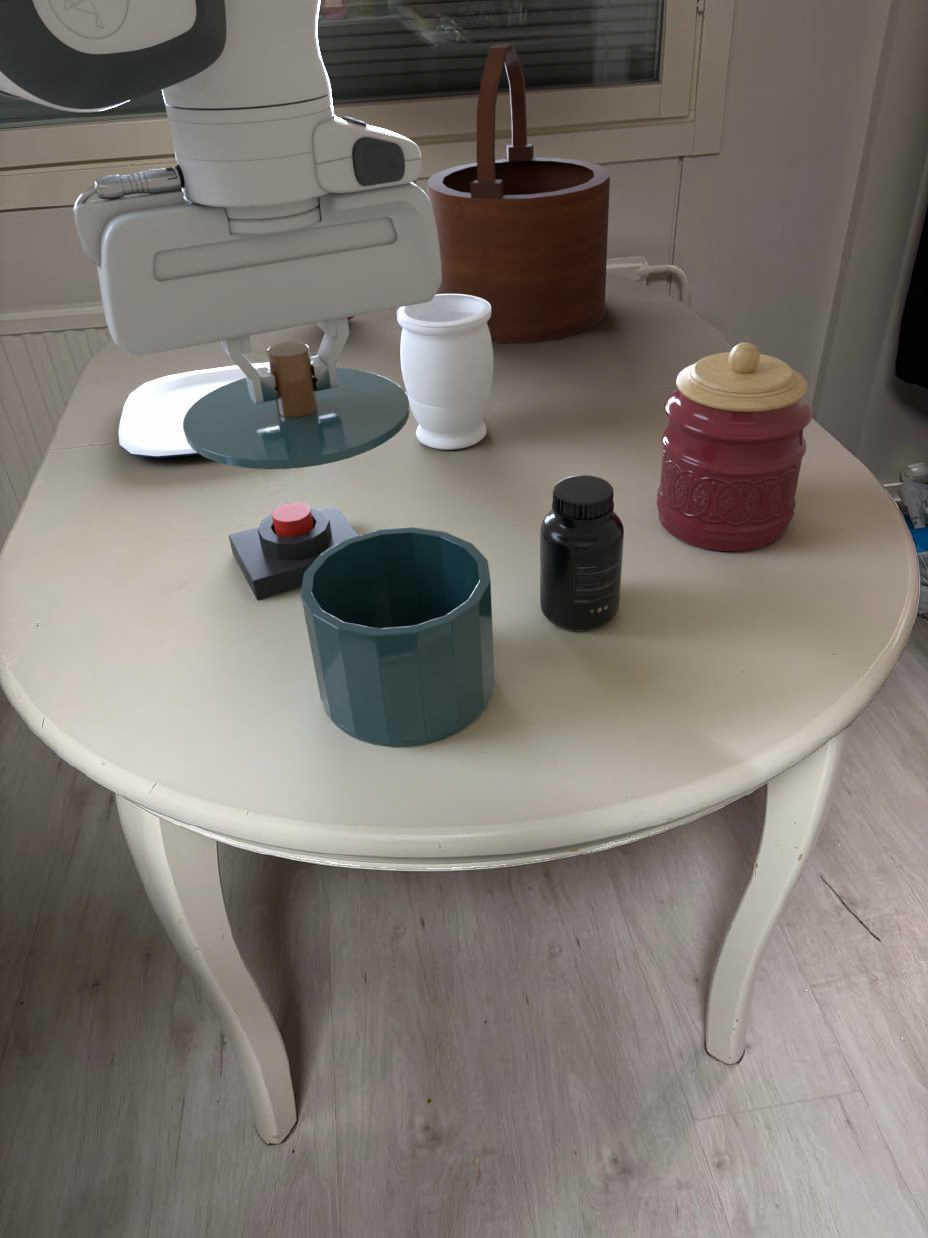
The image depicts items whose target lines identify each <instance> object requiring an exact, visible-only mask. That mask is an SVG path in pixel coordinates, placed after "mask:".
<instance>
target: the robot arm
mask: <svg viewBox="0 0 928 1238" xmlns="http://www.w3.org/2000/svg"><path fill="white" fill-rule="evenodd" d="M320 6H321V0H0V97H4V98H9V99H15V100H26V101H30V102H31V103H35V104H38V105H43V106H45V107H49V108H51V109H55V110H56V109H57V110H59V111H63V112H64V111H65V112H71V113H72V112H73V113H97V112H103V111H106V110H109V109H112V108H116V107H118V106H121V105H123V104H125V103H127V102H130V101H131V100H134V99H139V98H141V97H145V96H147V95H150V94H153V93H156V92H158V91H161V92H162V96H163V100H164V106H165V111H166V116H167V121H168V126H169V131H170V135H171V136H170V137H171V141H172V146H173V151H174V155H175V161H176V163H177V164H176V166H170V167H164V168H156V169H148V170H144V171H141V172H138V173H133V174H128V175H127V174H125V175H119V174H108V175H103V176H100V177H97V178H94V179H93V185H91V186H89V187H87V188H85V189H84V190H83V191H82V192H80V193H79V195H78V197H77V198H76V200H75V201H74V204H73V209H72V218H73V219H72V220H73V223H74V227H75V231H76V234H77V238H78V241H79V245H80V248H81V250H82V252H83V254H84V255H85V256H86V258H87V259H88V260H89V261H90V262H91V263H92V264H94V265H95V266H96V267H97V274H98V275H97V277H98V283H99V289H100V290H99V291H100V296H101V303H102V306H103V307H102V308H103V311H104V312H103V313H104V317H105V321H106V325H107V328H108V331H109V334H110V336H111V339H112V341H113V342H114V344H115V345H116V346H118V347H119V348H120V349H121V350H123V351H124V352H126V353H127V354H128V355H130V356H132V357H143V356H148V355H154V354H158V353H164V352H169V351H175V350H179V349H185V348H191V347H196V346H201V345H206V344H212V343H216V342H220V343H221V348H222V349H223V350H224V352H225V353H226V354H227V355H228V356H229V357H230V359H231V360H232V361H233V362H234V363H235V365H236V366H238V367H239V368H240V369H241V370H242V371H243V372H244V374H245V375H246V380H247V385H248V391H249V394H250V397H251V399H252V401H253V402H254V403H255V404H261V403H265V402H269V401H273V400H277V399H278V393H277V391H276V390H275V387H276V381H275V375H274V374H273V373H272V372H271V371H270V369H269V368H268V367H267V366H264V367H259V368H254V367H253V365H252V364H253V363H251V362H250V361H249V359H248V358H247V357H246V356H245V354H250V353H251V352H252V351H253V350H252V344H251V336H255V335H260V334H265V333H270V332H271V333H272V332H275V331H282V330H286V329H291V328H297V327H303V326H308V325H313V324H317V326H318V328H320V329H321V330H322V331H323V332H324V334H323V337H322V339H321V341H320V345H319V348H318V351H317V354H316V355H315V356H310V360H311V367H312V374H313V381H314V388H315V391H316V392H317V391H322V390H326V389H331V388H336V387H338V380H337V372H336V368H337V364H336V363H338V361H339V359H340V356H341V355H342V352H343V350H344V347H345V345H346V343H347V340H348V338H349V336H350V327H349V320H348V317H351V316H354V317H356V316H361V315H362V316H363V315H367V314H371V313H372V314H373V313H377V312H382V311H383V312H384V311H388V310H393V309H398V308H399V307H405V306H410V305H415V304H421V303H426V302H430V301H431V300H432V299H433V297H434V296H435V294H436V292H437V291H438V289H439V287H440V285H441V280H442V270H441V257H440V248H439V240H438V233H437V228H436V222H435V217H434V212H433V208H432V205H431V203H430V200H429V198H428V194H427V193H426V192H425V191H424V190H423V189H422V188H421V187H420V186H419V185H418V184H415V183H414V182H415V181H417V180H418V178H420V175H421V172H422V154H421V149H420V147H419V146H418V144H417V143H416V142H414V141H413V140H411V139H409V138H407V137H406V136H403V135H401V134H399V133H396V132H394V131H391V130H388V129H386V128H382V127H378V126H374V125H369V124H367V123H366V122H365V121H363V120H360V119H357V118H355V117H349V116H342V117H338V116H336V113H334V105H333V97H332V87H331V82H330V78H329V75H328V72H327V69H326V67H325V65H324V62H323V58H322V55H321V50H320V46H319V37H318V21H319V14H320V13H319V12H320V8H321V7H320ZM95 195H96V196H97V198H98V199H92V200H91V199H90V198H91V197H93V196H95ZM89 199H90V200H89Z"/></svg>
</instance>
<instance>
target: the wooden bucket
mask: <svg viewBox="0 0 928 1238" xmlns="http://www.w3.org/2000/svg"><path fill="white" fill-rule="evenodd" d="M504 68H505V72H506V77H507V80H508V81H507V82H508V87H509V102H510V117H511V144H506V158H501V159H496V107H497V99H498V93H499V85H500V79H501V76H502V73H503V69H504ZM479 85H480V86H479V91H478V92H479V93H478V98H477V99H478V100H477V106H476V162H471V163H465V164H461V165H456V166H453V167H450V168H446V169H444V170H440V171H439V172H436V173H435V174H433V175H432V176H430V177H429V178H428V180H427V182H426V190H427V193H426V194H427V197H428V198H429V200H430V203H431V205H432V208H433V212H434V217H435V222H436V228H437V233H438V240H439V248H440V257H441V270H442V280H441V285H440V287H439V289H438V291H437V292H436V294H435V295H437V294H465V295H471V296H476V297H479V298H482V299H484V300H486V301H487V302H489V304H490V305H491V317H490V319H489V320H488V321H487V325H488V328H489V331H490V336H491V341H492V343H499V344H526V343H527V344H528V343H529V344H532V343H538V342H545V341H553V340H560V339H563V338H566V337H569V336H570V337H571V336H573V335H577V334H580V333H583V332H584V331H586V330H589V329H590V328H593V327H594V326H596V325H598V323H599V322H600V321H601V320H602V319H603V317H604V316H605V311H606V287H607V286H606V285H607V263H608V262H607V261H608V260H607V259H608V236H609V212H610V211H609V208H610V186H611V185H610V184H611V180H610V179H611V174H610V170H609V169H608V168H605V167H603V166H602V165H600V164H598V163H593V162H589V161H585V160H578V159H568V158H561V157H535V156H534V155H535V154H534V153H535V152H534V143H528V118H527V99H526V81H525V78H524V71H523V67H522V62H521V61H520V58H519V55H518V52H517V51H516V48H515V45H514V43H513V42H511V43H495V44H494V45H492V46H490V47H489V48H488V52H487V56H486V60H485V64H484V67H483V72H482V76H481V80H480V84H479Z"/></svg>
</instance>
